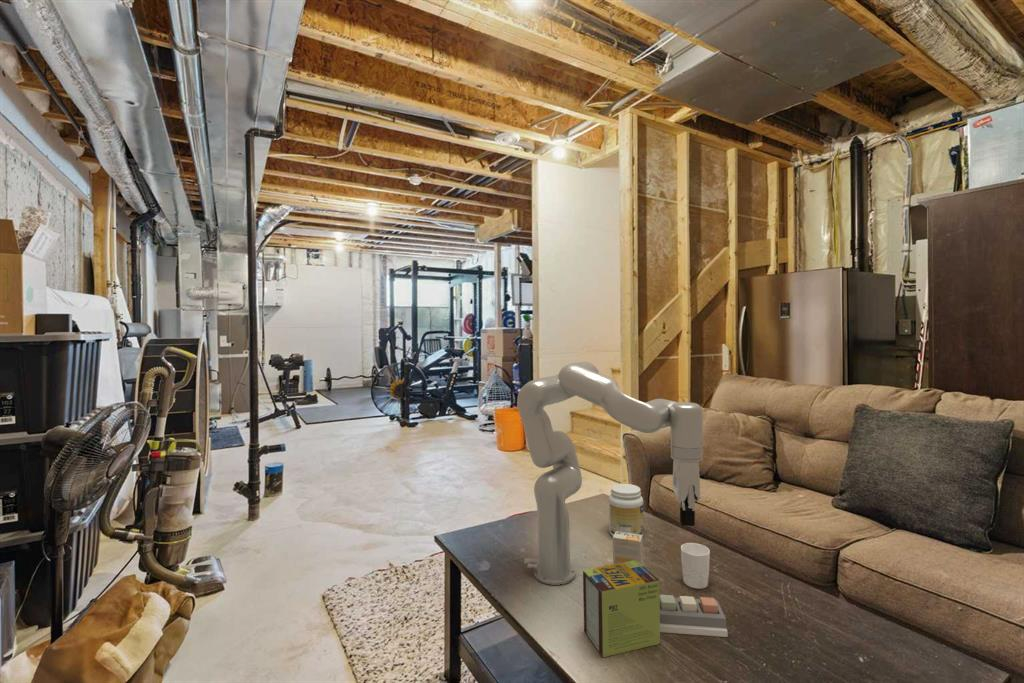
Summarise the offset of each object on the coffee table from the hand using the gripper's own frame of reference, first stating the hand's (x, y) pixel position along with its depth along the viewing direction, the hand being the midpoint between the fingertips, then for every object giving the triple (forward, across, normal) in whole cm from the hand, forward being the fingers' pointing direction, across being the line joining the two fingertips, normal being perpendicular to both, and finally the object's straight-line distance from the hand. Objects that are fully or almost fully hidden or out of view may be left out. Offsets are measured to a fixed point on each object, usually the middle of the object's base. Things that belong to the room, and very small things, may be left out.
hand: (687, 524), depth 119 cm
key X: (+22, 0, 0) cm, 22 cm away
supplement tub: (+25, -49, -11) cm, 56 cm away
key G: (+22, 0, +5) cm, 22 cm away
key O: (+22, 0, -5) cm, 22 cm away
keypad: (+25, 0, 0) cm, 25 cm away
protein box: (+25, +8, -17) cm, 32 cm away
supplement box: (+25, -19, -13) cm, 34 cm away
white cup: (+25, -19, +6) cm, 32 cm away
